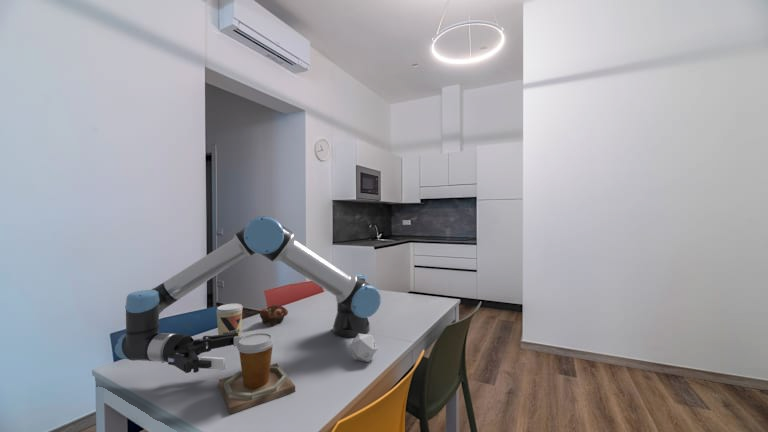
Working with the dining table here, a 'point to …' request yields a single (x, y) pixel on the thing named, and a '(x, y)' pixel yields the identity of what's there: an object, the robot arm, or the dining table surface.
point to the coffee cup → (229, 319)
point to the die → (363, 347)
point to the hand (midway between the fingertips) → (240, 352)
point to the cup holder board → (254, 389)
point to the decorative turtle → (273, 314)
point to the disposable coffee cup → (255, 358)
